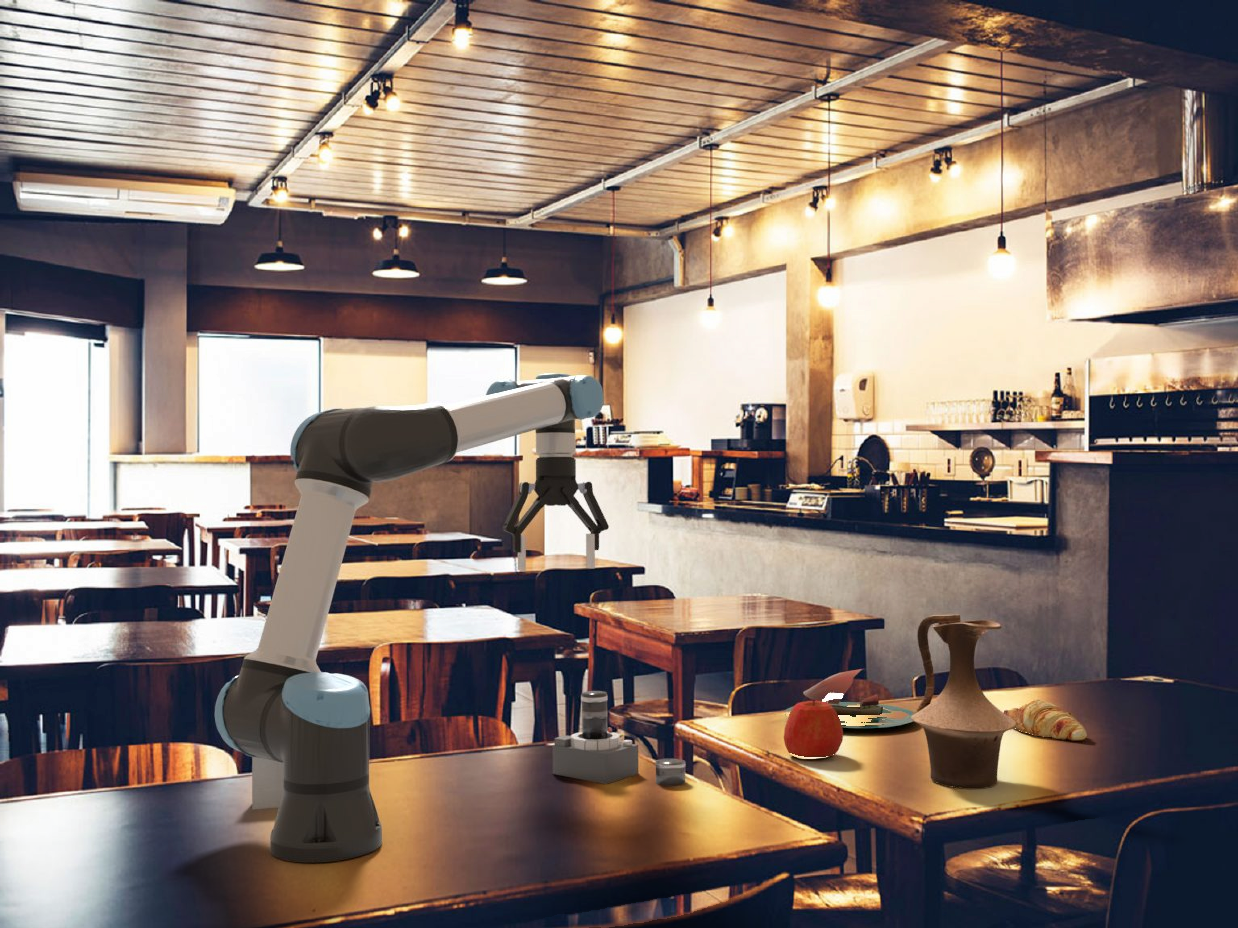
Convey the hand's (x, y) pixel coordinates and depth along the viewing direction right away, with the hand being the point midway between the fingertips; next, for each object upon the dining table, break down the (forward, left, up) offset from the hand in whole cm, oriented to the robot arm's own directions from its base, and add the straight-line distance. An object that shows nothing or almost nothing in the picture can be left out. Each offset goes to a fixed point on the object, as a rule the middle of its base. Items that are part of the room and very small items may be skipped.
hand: (556, 569), depth 220 cm
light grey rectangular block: (-53, +13, -35) cm, 65 cm away
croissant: (+73, -66, -35) cm, 104 cm away
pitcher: (+26, -68, -35) cm, 81 cm away
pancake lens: (-4, -29, -35) cm, 45 cm away
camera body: (-7, -15, -35) cm, 38 cm away
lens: (-7, -15, -30) cm, 34 cm away
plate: (+61, -29, -35) cm, 76 cm away
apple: (+27, -39, -35) cm, 59 cm away
